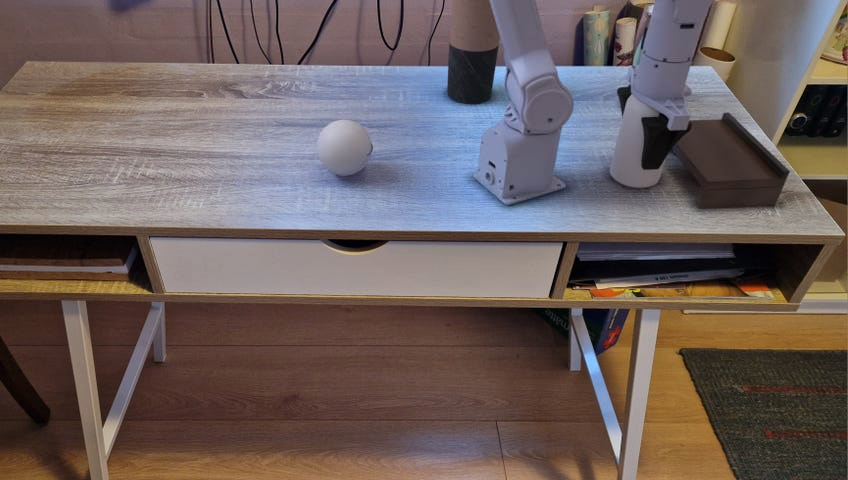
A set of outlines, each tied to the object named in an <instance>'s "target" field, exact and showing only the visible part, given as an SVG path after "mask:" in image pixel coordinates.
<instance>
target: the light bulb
mask: <svg viewBox="0 0 848 480" xmlns="http://www.w3.org/2000/svg"><path fill="white" fill-rule="evenodd" d="M373 150H374V146H373V143H372V140H371V136H370V134H369V133H368V131H367V130H366V128H365V127H364V126H362V125H361V124H359V123H358V122H356V121H354V120H352V119H338V120H334V121H331V122H330V123H328V124H327V125H326V126H325V127H324V128H323V129H322V130H321V132H320V134H319V136H318V138H317V141H316V152H317V158H318V159H319V161H320V163H321V164H322V166H323V167H324V169H326V170H327V171H329V172H330V173H332V174H334V175H336V176H343V177H345V176H346V177H347V176H353V175H356V174H357V173H359V172H360V171H361V170H362V169H364V168H366V166H367V164H368V162H369V161H370V159H371V157H372V152H373Z"/></svg>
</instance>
